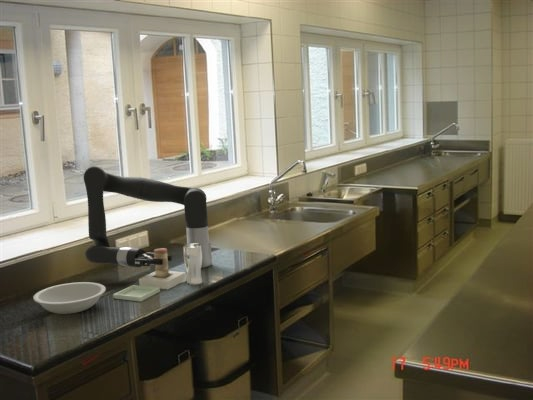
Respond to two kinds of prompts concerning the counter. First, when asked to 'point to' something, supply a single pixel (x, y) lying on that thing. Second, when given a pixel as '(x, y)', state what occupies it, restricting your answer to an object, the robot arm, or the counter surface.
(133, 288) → the green tray
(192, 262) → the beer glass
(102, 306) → the counter surface
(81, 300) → the soup bowl
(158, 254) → the wooden plug
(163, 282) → the socket block
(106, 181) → the robot arm
